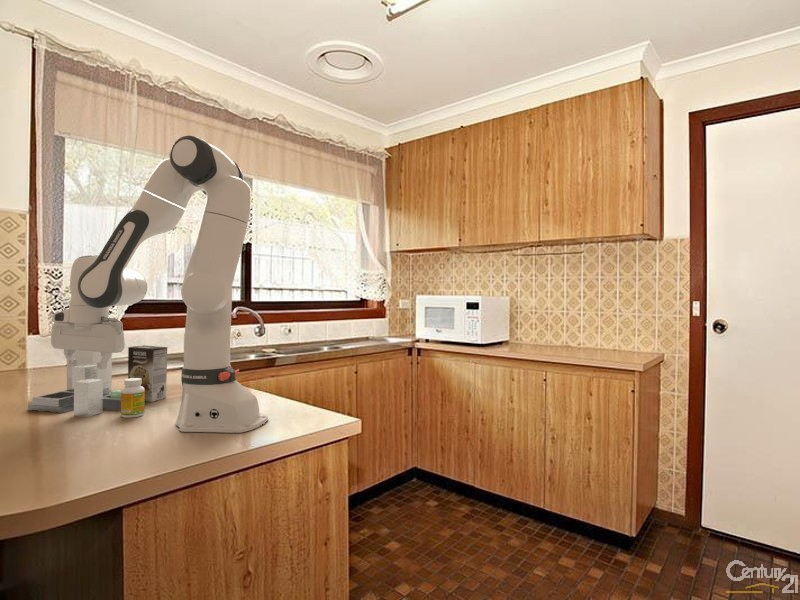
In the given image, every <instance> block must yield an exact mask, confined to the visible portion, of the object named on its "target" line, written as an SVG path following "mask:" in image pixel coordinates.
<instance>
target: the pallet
mask: <svg viewBox="0 0 800 600" xmlns="http://www.w3.org/2000/svg"><path fill="white" fill-rule="evenodd" d="M85 379H98V369H97V365H86V364H85V365H80V366H74V367H72V389H68V390H67V389H65V390H61V391H55V392H51V393H47V394H43V395H38V396H33V397H32V403H28V404H27V410H28V409H29V410H28V411H32V410H38V411H37V412H44V411H50V412H49V413H56V412H58V413H59V414H64V413H67V412H70V410H71V411H74V382H76V381H81V380H85ZM108 394H110V391H109V387H103V396H105V395H108Z"/></svg>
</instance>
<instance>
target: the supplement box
mask: <svg viewBox="0 0 800 600" xmlns="http://www.w3.org/2000/svg"><path fill="white" fill-rule="evenodd" d="M73 354H74V357H75V359H78V362H77V363H78V365H77V366H80V365H85V364H86V365H97V362H100V361H101V359H102V357H103V356H101V352H92V351H79V350H75V353H73ZM112 358H113V354H112V355H111V357H110V359H109V361H108V362H107V368H106V369H98V379H99V380H103V387H109V392H111V391H113V387H112V386H113V384H112V381H113V380H112V379H113V376H112V375H113V373H112V370H113V369H112V366H113V363H112V362H113V359H112ZM68 389H72V367H71V366H67V365H66V390H68Z"/></svg>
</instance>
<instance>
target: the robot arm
mask: <svg viewBox="0 0 800 600" xmlns="http://www.w3.org/2000/svg"><path fill="white" fill-rule="evenodd" d="M244 178H245V176H244V174H243V171H242V169H241V168H240V166H239V165H238V164H237V163H236V162H235V161H233V160H232V159H231V158H229V156H227V155H226V154H225V153H224V152H223V151H222V150H220V149H219V148H217V147H216V146H214V145H213V144H210V143H209V142H208V141H206V140H205V139H203V138H201V137H198V136H194V135H184V136H180V137H179V138H178V139H177V140H175V142H173V144H172V146H171V148H170V150H169V158H165V159H164V160H162V161H161V162H160V163H159V164H158V165H157V166H156V167H155V169H154V170H153V172H152V173H151V174H150V176H149V177H148V179H147V180H146V182H145V185H144V187H143V189H142V191H141V193H140V194H139V197H138V199H136V202H135V203H134V205H133V206H132V208H131V209H130V210H129V211H128V212H127V213H126V214H125V215H124V216H123V218H121V220H120V221H119V222H118V224H117V226H116V227H115V229H114V230H113V232H112V234H111V235H110V237H109V238H108V240H107V242H106V243H105V245H104V246H103V249H102V250H101V251H100V253H99V255H98V254H97V255H95V254H94V255H84V256H83V255H82V256H80V257H79V256H78V257H77V258H75V260H74V261H73V263H72V266H71V269H70V279H69V291H70V293H71V294H70V295H71V296H70V301H69V302H68V304H69V305H68V308H66V309H64V310H62V311H58V312H54V313H52V316H51V318H52V319H51V320H52V321H53V322H54V323H53V324H52V326H51V330H50V331H51V332H50V345H51V346H52V348H53V349H59V350H63V355H64V357H65V359H66V367H67V366H71V367H74V366H77V365H78V363H77V362H78V359H75V357H74V354H73V353H75V350H79V351H92V352H101V356H103V357H102V359H101V361H100V362H97V369H106V368H107V362H108V361H109V359H110V357H111V355H112V356H113V354H116V353H122V352H123V350H125V345H126V344H125V333H124V329H123V327H124V326H123V322H122V321H121V320H120V319H119V318H118V317H109V314H110V313H109V310H110V307H114V306H115V307H119V306H129V305H134V304H138V303H139V302H141V301H142V300H143V299H144V298H145V297H146V295H147V292H148V283H147V280H146V278H145V277H144V276H143V275H142V273H140V272H137V271H135V270H132V269H128V268H127V266H128V265H129V263H130V261H131V260H132V258H133V256H134V254H135V253H136V251H137V249H138V247H139V246H140V245H141V244H142V243H143V242H145V241H146V240H148V239H150V238H151V237H154V236H157V235H160V234H165V233H168V232H171V231H172V230H174V229H175V227H176V226H177V225H178V224H179V223H180V221H181V220H182V218H183V216H184V215H185V211H186V210H187V208H188V205H189V203H190V201H191V199H192V197H193V196H194V195H195V194H196V193H198V192H202V193H203V194H204V195H205V196H206V200H205V204H204V209H203V213H202V216H201V220H200V225H199V229H198V233H197V236H196V240H195V243H194V247H193V250H192V252H191V256H190V257H189V261H188V264H187V268H186V270H185V271H186V272H185V274H184V277H183V280H182V284H181V288H180V295H181V298H182V301H183V303H184V304H185V305H186V317H185V326H184V334H183V367H181V381H180V382H181V384H182V391H181V400H180V405H179V411H178V414H177V418H176V421H175V425H176V427H178V428H179V429H178V431H180V432H186V433H187V432H188V433H227V434H229V433H233V434H235V433H239V434H240V433H245V432H248V431H251V430H254V429H257V428H260V427H261V426H262V424H263V425H264V424H266V423H267V422H268V421H267V419H268V420H269V417H268V414H265V413H260V406H259V401H258V398H257V396H256V395H255V394H254V393H252V391H250V390H248V389H247V388H246V387H244V386H243V385H242V384H241V383H240V382H238V380H237V377H236V375H239V374H240V372H239V371H240V369H239V368H237V369H234V368H233V367H232V365H231V331H232V329H231V328H232V307H233V305H232V304H233V303H232V302H233V288H232V287H233V284H234V283H233V282H234V279H235V275H236V271H237V269H238V263H239V261H240V257H241V253H242V250H243V245H244V241H245V236H246V233H247V228H248V224H249V220H250V216H251V215H250V213H251V208H252V189H251V187H250V186H249V184H248V183H247V182H246V181H245V179H244ZM266 421H267V422H266ZM265 422H266V423H265ZM260 425H261V426H260Z"/></svg>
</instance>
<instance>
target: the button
mask: <svg viewBox="0 0 800 600" xmlns="http://www.w3.org/2000/svg"><path fill="white" fill-rule="evenodd" d="M121 391H122V389H112V390H111V391H109V394H110V398H121Z"/></svg>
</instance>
